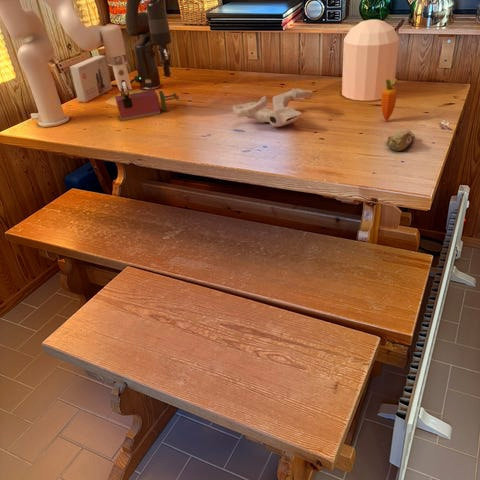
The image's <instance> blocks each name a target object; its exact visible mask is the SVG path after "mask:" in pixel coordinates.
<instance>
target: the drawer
mask: <svg viewBox="0 0 480 480" xmlns="http://www.w3.org/2000/svg"><path fill="white" fill-rule="evenodd" d="M157 98H158V104H159V109H160V110H161V108H162V110H163V111H166V110H167V103H166V101H172V100H176V101H177V100H179V99H180V96H179V95H178V94H177V93H176V92H174V93H173V94H169V95H165V93H164V92H163V91H162V90H159V91H158V94H157Z"/></svg>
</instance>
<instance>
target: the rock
mask: <svg viewBox="0 0 480 480" xmlns="http://www.w3.org/2000/svg"><path fill="white" fill-rule="evenodd" d="M415 139H416V135H415V134H414V132H412V131H411V130H408V129H407V130H404V131H398V132H396V133H394V134H393V135H392V134H391V135H389V136H388V137H387V143H388V145H387V146H388V147H389V149H391V150H392V151H395V152H404V151H406V150H407V148H409V145H410V144H411V143H412V142H413V141H414V140H415Z"/></svg>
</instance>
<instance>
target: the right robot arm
mask: <svg viewBox="0 0 480 480" xmlns="http://www.w3.org/2000/svg"><path fill="white" fill-rule="evenodd" d="M141 2H142V0H126V3H125V15H124V16H125V17H124V23H125V29H126V32H127V34H128V35H129V36H131V37H139V36H140V38H139V39H138V40H137V41H136V42H135V43H134V45H133V50H134V54H135V59H136V64H137V67H136V71H137V72H136V73H137V74H136V75H134V78H133V79H130V83H131V85H132V84H133V82H135V83H137V84H139V87H140V89H142V90H143V91H149V90H157V89H159V88H161V87H162V84H161V78H160V73H159V72H160V71H159V67H158V66H159V65H158V62H157V61H158V60H157V55H156V50H157V53H158V57H159V61H160V63H161V66H162V69H163V74H164V77H165V78H168V77H171V70H170V66H171V55H170V48H168V46H167V45H169V44H171V43H172V36H171V30H170V24H169V20H168V16H167V10H166V0H149V1H147V3H146V5H145V6H146V11H139V9H140V6H141ZM155 46H157V47H158V48H157V49H156V50H155ZM111 85H112V87H116V88H118V86H117V84H111Z"/></svg>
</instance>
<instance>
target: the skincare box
mask: <svg viewBox="0 0 480 480" xmlns="http://www.w3.org/2000/svg"><path fill="white" fill-rule="evenodd" d="M69 70H70V74H71V78H72V82H73V86H74V90H75V94H76V98H77V102H81V103H82V102H84V103H87V102H89V101H91V100H93V99H95V98H97V97H100V96H101V95H103V94H105V93H107V92H108V91H110V90H112V89H113V86H112V85H113V84H112V81H111V76H110V72H109V71H110V70H109V65H108V60H107V56H106V55H100V54H99V55H95V56H92V57H90V58H87V59H85V60H83V61H80V62H78V63H75V64H73V65H71V66H69Z"/></svg>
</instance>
